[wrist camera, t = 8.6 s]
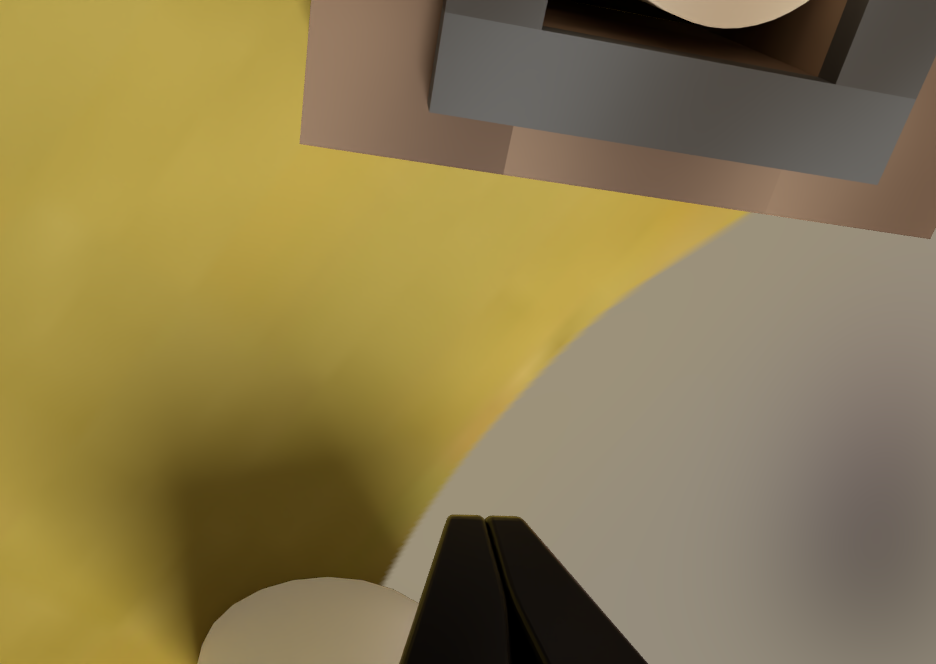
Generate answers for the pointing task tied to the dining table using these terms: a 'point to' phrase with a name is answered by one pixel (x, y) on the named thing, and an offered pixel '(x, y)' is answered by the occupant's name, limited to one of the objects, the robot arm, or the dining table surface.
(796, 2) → the peg
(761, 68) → the walnut block
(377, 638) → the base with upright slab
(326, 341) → the dining table surface
